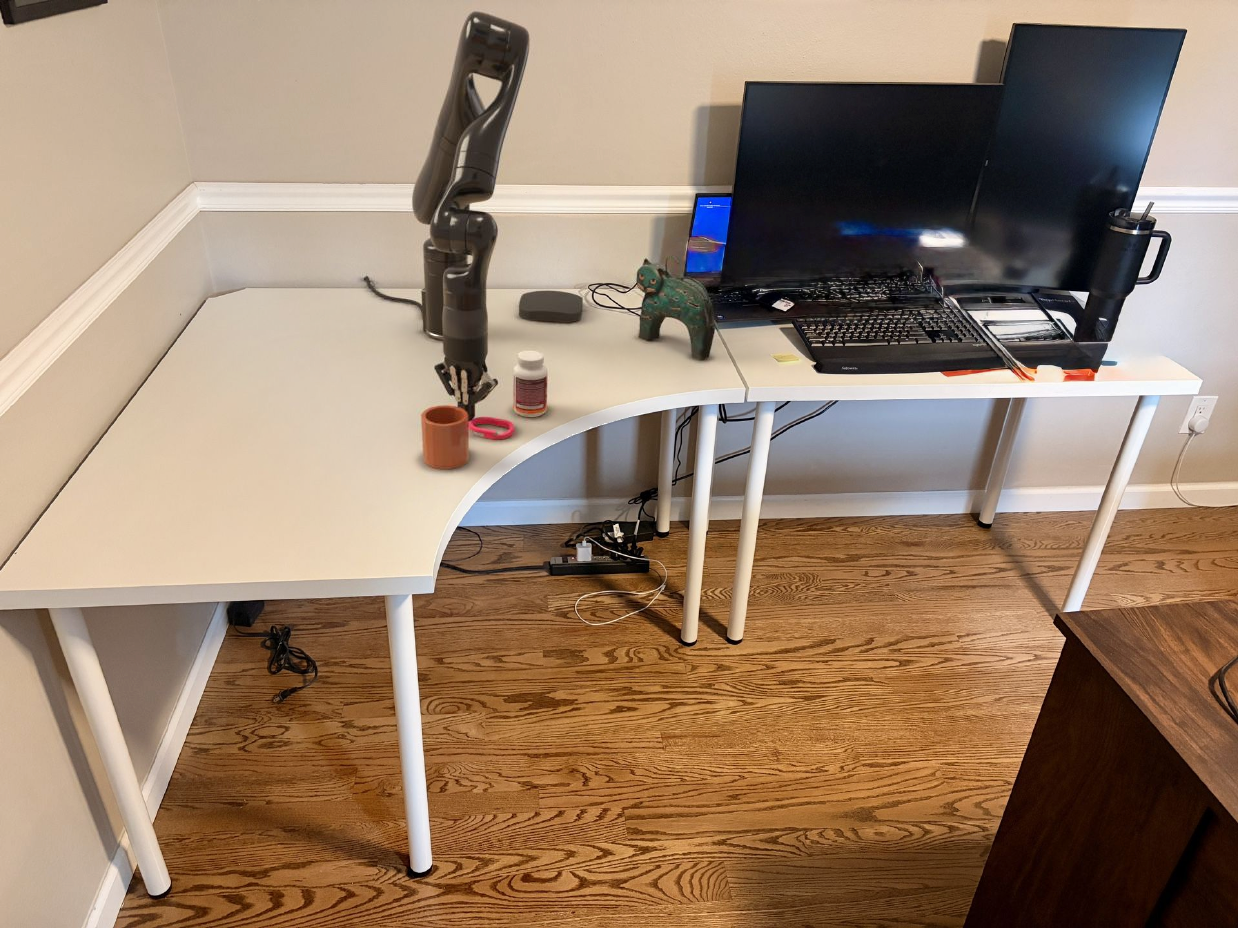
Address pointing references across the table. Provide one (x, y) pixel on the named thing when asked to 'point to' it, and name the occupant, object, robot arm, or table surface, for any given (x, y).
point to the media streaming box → (551, 306)
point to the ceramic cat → (675, 306)
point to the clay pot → (445, 437)
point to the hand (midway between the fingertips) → (466, 419)
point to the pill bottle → (530, 384)
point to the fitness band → (490, 433)
